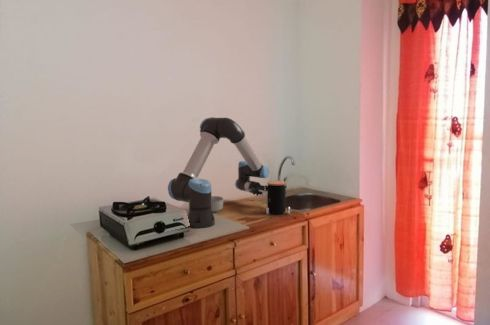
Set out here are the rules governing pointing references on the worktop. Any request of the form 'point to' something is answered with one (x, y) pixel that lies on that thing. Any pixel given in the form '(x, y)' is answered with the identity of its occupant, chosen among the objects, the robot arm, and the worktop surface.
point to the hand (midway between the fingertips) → (275, 192)
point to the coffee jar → (276, 197)
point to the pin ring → (277, 214)
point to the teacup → (216, 203)
